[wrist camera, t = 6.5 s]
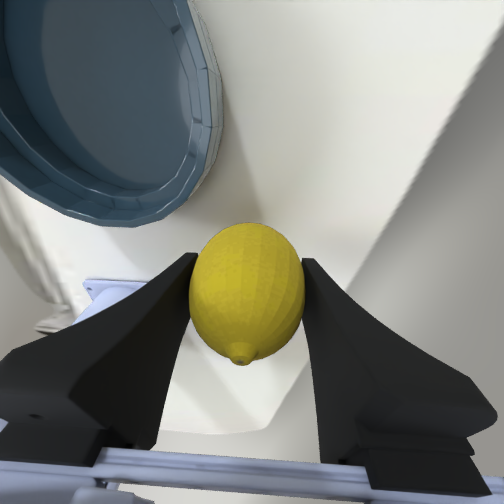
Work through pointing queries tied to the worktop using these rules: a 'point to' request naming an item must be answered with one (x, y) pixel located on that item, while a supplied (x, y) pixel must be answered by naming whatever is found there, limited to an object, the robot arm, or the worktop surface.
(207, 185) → the worktop surface
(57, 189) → the bowl
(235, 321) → the lemon
